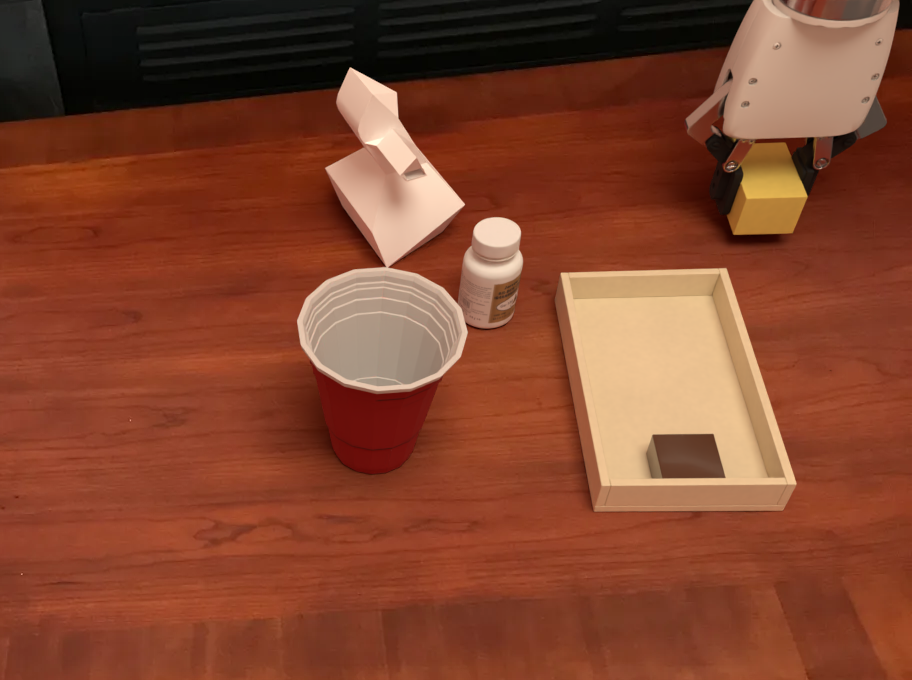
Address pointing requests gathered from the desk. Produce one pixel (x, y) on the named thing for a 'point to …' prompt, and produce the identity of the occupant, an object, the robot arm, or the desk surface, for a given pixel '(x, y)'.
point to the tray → (668, 389)
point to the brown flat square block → (684, 456)
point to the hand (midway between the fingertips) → (754, 201)
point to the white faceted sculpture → (388, 175)
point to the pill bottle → (491, 273)
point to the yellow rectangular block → (767, 192)
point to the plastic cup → (379, 359)
